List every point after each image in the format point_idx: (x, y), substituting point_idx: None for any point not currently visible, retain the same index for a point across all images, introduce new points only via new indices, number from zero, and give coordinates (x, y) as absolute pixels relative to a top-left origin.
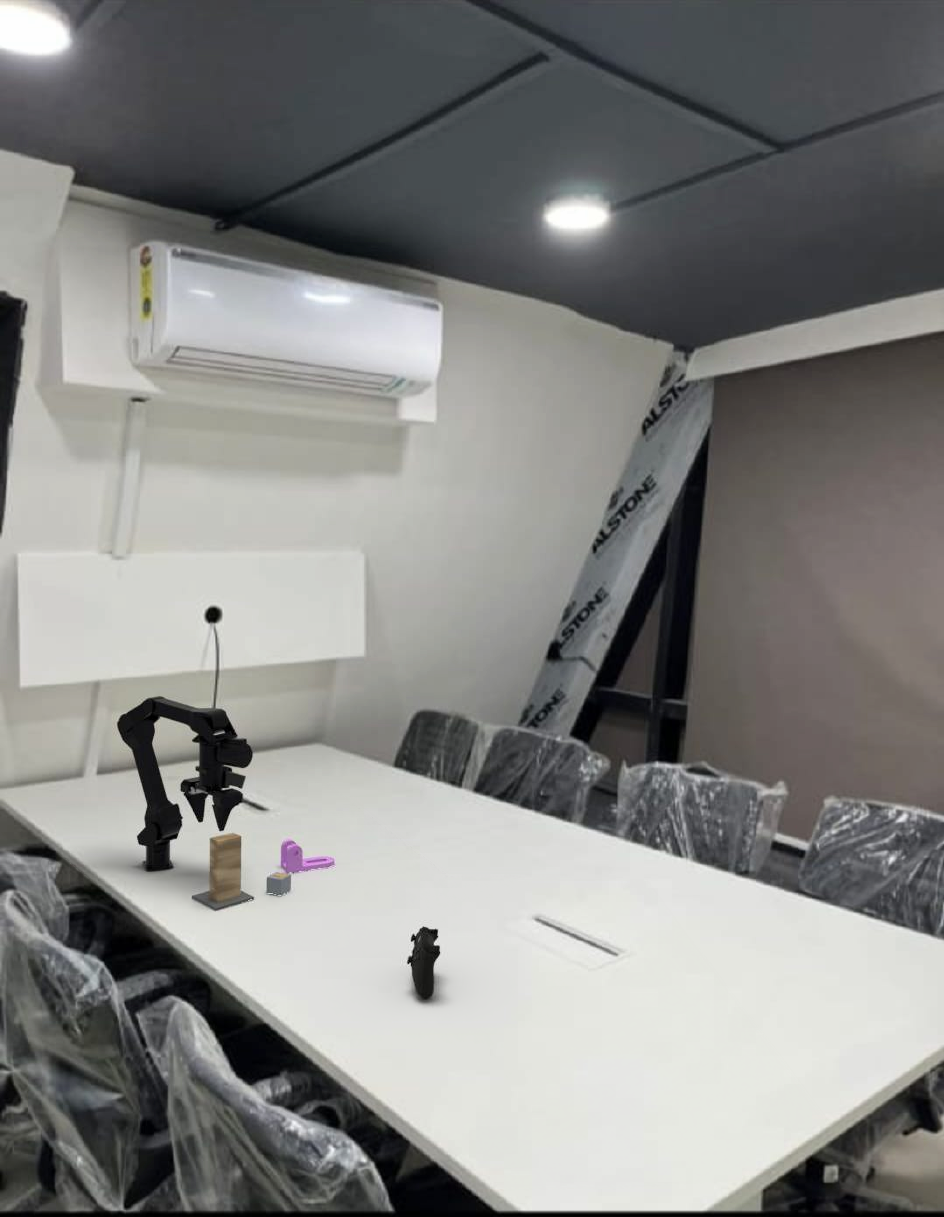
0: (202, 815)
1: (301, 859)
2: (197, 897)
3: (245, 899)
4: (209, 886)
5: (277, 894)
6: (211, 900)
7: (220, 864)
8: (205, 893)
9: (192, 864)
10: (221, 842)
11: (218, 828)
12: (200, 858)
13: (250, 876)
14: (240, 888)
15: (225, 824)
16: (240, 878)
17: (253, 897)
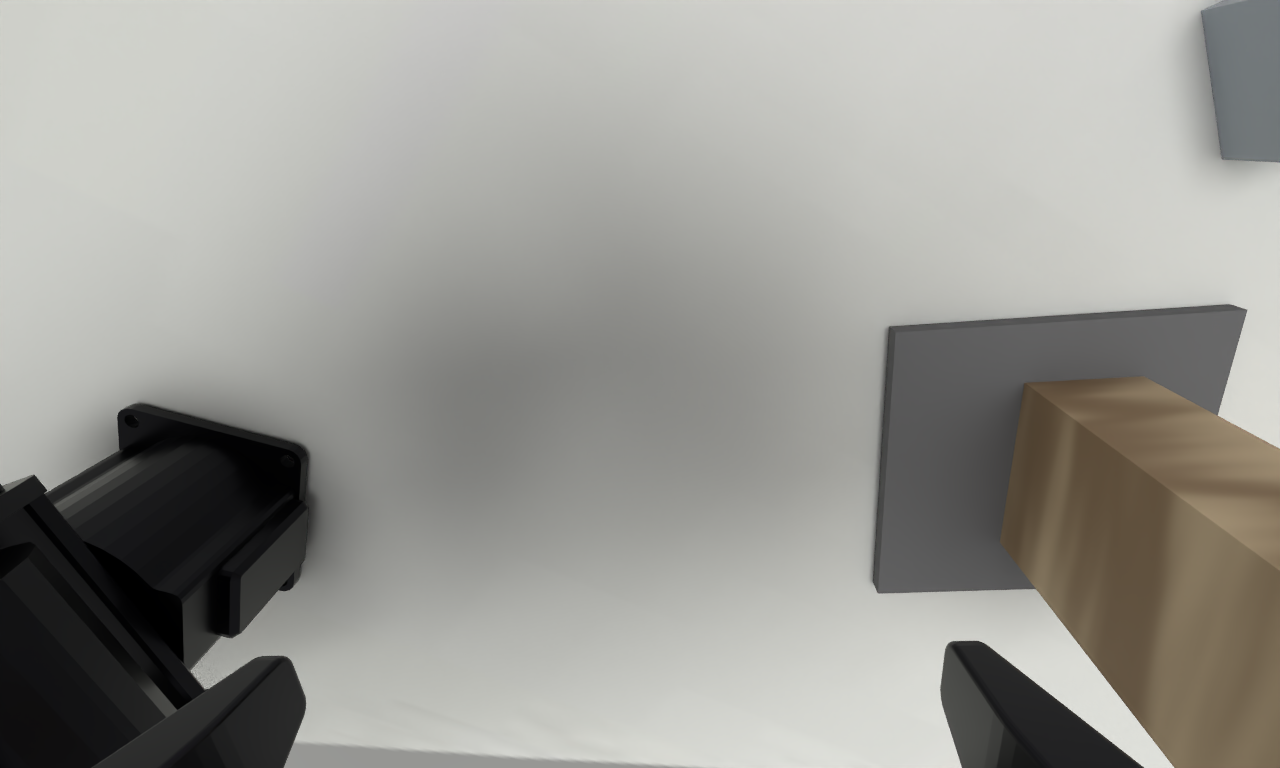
0: (213, 765)
1: None
2: (931, 584)
3: (1223, 381)
4: (1044, 597)
5: None
6: None
7: None
8: (908, 522)
9: (279, 310)
10: None
11: (967, 758)
12: (162, 196)
13: (791, 60)
14: (1185, 402)
15: (1087, 734)
16: (1256, 441)
17: (1242, 314)
